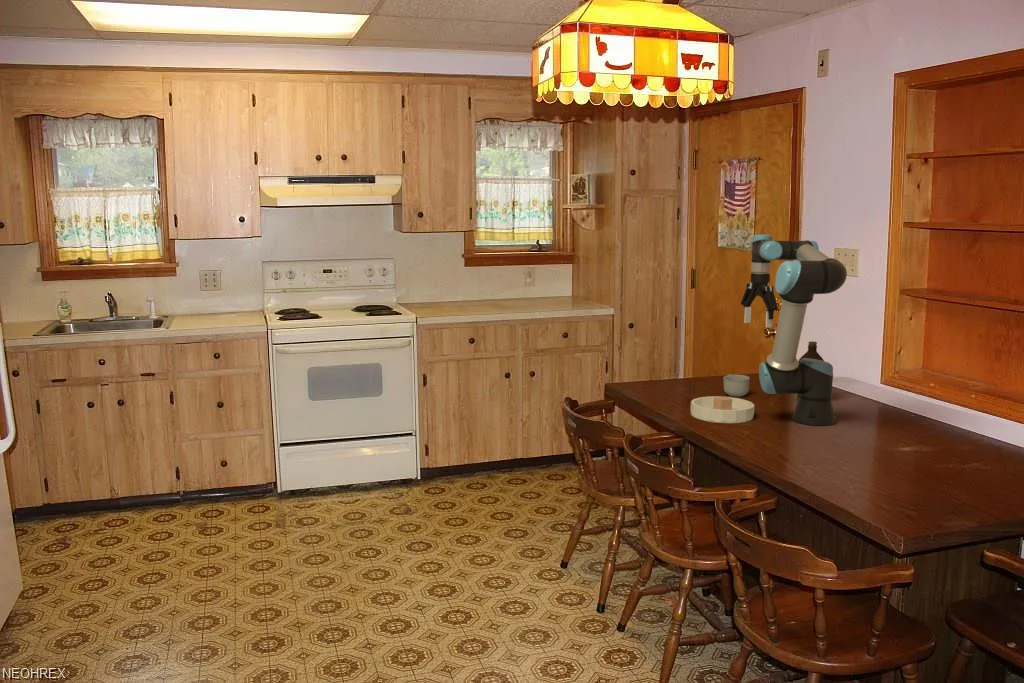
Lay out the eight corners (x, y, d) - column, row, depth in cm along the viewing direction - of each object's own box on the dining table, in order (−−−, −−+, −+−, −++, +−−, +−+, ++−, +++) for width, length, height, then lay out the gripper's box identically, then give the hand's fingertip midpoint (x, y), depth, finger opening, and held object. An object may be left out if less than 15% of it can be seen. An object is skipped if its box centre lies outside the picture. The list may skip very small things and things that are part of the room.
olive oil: (813, 406, 352) (817, 345, 348) (790, 401, 360) (793, 341, 356) (827, 402, 359) (831, 342, 354) (804, 397, 367) (808, 339, 363)
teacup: (751, 398, 366) (752, 379, 364) (725, 398, 366) (726, 379, 364) (743, 390, 379) (744, 372, 378) (718, 390, 380) (719, 372, 378)
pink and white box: (731, 414, 335) (732, 399, 334) (720, 415, 333) (721, 400, 332) (723, 411, 340) (724, 396, 339) (712, 412, 338) (713, 397, 337)
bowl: (766, 419, 331) (766, 407, 330) (714, 425, 322) (715, 413, 321) (728, 406, 352) (728, 394, 351) (679, 411, 343) (679, 399, 342)
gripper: (788, 275, 342) (785, 328, 346) (748, 270, 365) (746, 320, 368) (773, 275, 339) (770, 329, 343) (733, 270, 362) (731, 321, 365)
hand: (757, 325), depth 355 cm, fingers open, 13 cm apart
